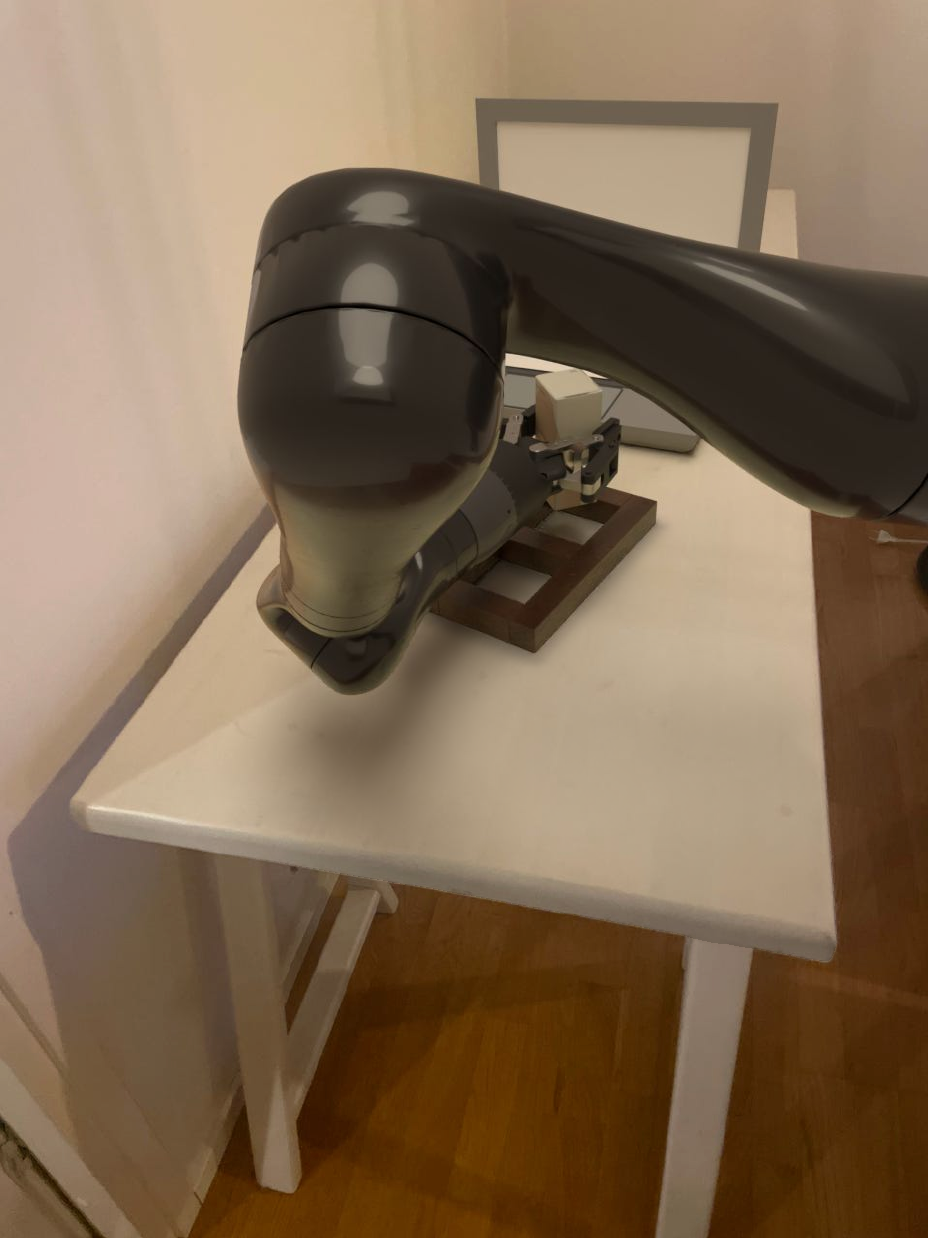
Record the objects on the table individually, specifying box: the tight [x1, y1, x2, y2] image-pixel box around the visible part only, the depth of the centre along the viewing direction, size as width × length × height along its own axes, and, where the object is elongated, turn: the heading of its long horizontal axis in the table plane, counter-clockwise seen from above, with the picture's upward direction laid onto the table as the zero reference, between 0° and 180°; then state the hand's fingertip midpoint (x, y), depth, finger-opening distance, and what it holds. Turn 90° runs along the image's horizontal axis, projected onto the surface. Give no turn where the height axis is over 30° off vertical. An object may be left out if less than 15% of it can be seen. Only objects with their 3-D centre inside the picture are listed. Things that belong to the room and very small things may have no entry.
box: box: [534, 368, 602, 512], centre depth 82 cm, size 5×4×11 cm
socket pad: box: [428, 486, 658, 653], centre depth 85 cm, size 12×22×2 cm, turn 145°
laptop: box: [474, 97, 780, 453], centre depth 105 cm, size 35×26×28 cm
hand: (580, 418), depth 83 cm, fingers closed on box, 6 cm apart
